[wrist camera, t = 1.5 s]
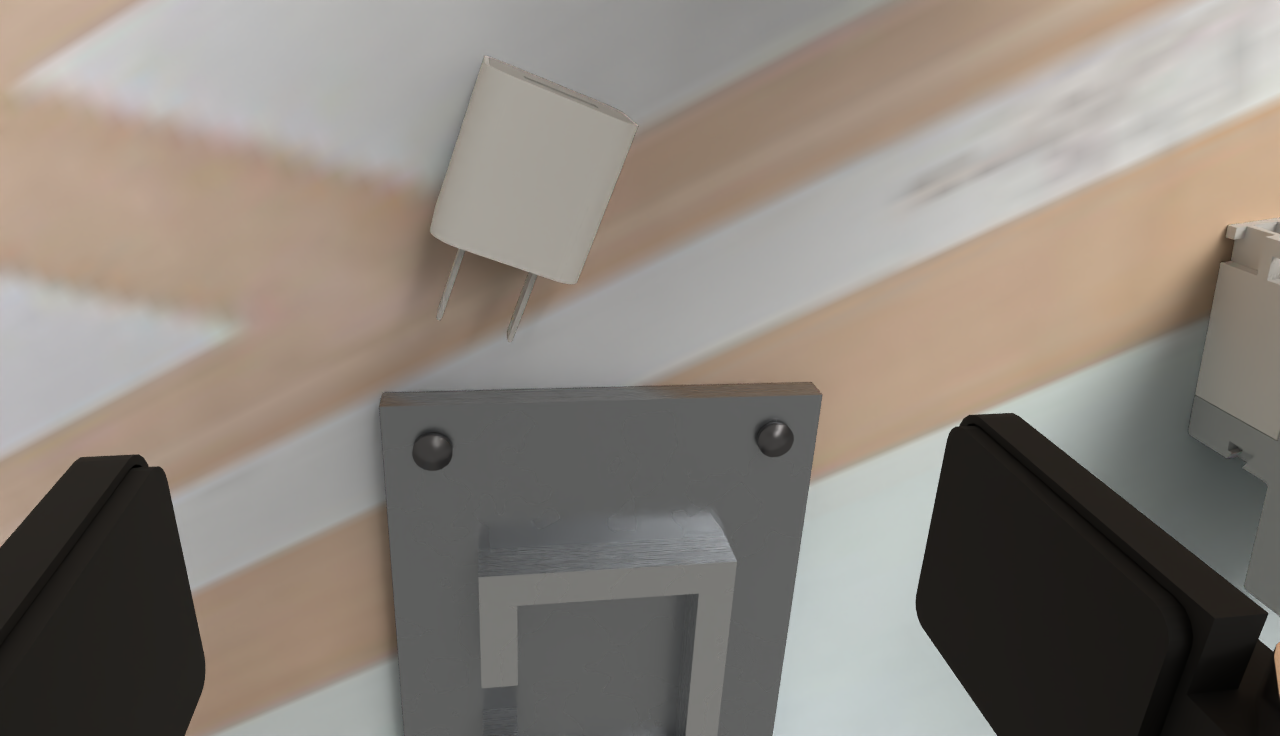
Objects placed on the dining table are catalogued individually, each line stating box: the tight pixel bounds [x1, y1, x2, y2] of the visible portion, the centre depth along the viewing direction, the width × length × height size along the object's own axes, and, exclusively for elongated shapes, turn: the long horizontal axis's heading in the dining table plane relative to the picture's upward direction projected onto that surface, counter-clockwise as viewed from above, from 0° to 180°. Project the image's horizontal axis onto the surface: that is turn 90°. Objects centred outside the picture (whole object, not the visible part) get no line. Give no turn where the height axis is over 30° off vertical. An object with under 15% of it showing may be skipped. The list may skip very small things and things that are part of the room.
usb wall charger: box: [430, 56, 638, 342], centre depth 23 cm, size 4×7×4 cm, turn 157°
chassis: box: [379, 382, 822, 736], centre depth 30 cm, size 18×14×2 cm
